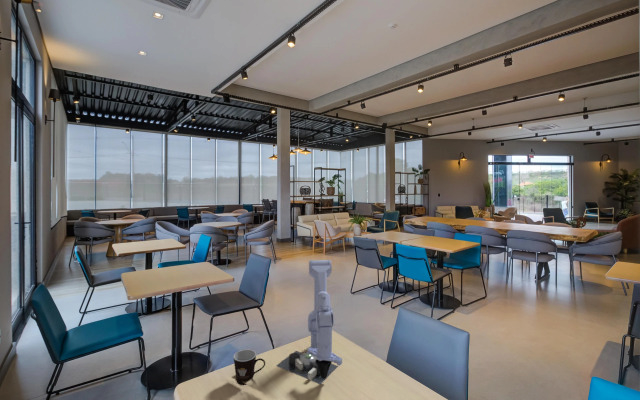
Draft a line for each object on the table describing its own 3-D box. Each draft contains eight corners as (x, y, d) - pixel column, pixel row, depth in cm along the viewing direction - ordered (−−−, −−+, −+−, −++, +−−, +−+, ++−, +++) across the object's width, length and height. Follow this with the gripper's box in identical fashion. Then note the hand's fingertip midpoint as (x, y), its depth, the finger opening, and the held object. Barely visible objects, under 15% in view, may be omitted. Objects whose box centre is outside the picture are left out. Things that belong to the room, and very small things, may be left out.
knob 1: (287, 361, 129) (287, 354, 129) (296, 358, 132) (296, 351, 132) (297, 371, 123) (297, 364, 122) (306, 368, 125) (306, 360, 125)
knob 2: (316, 367, 126) (316, 360, 125) (325, 370, 123) (325, 363, 123) (304, 378, 118) (304, 370, 118) (313, 381, 116) (314, 374, 116)
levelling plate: (296, 353, 138) (296, 341, 138) (338, 369, 127) (338, 356, 126) (275, 369, 127) (275, 355, 126) (320, 388, 115) (320, 373, 115)
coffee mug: (228, 382, 118) (228, 357, 117) (244, 371, 125) (244, 347, 125) (252, 392, 112) (252, 366, 112) (266, 379, 120) (266, 354, 119)
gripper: (302, 341, 116) (302, 376, 116) (335, 352, 108) (335, 389, 109) (313, 334, 122) (312, 367, 122) (345, 344, 114) (344, 379, 115)
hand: (324, 377), depth 116 cm, fingers closed
